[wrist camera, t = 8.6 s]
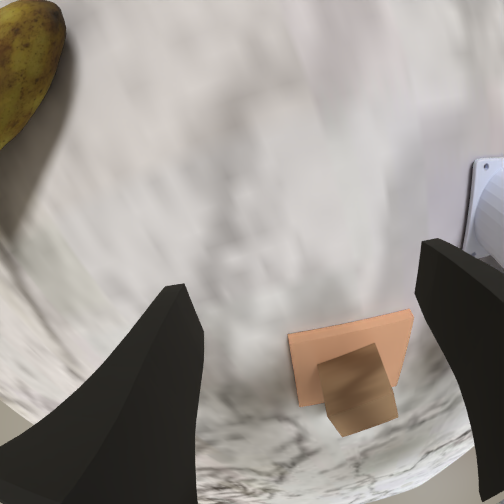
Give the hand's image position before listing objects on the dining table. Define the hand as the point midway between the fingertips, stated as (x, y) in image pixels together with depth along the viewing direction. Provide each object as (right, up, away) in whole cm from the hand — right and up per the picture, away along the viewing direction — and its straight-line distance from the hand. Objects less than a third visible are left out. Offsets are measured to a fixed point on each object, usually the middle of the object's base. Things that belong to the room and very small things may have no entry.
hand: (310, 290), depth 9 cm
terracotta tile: (+7, -8, +17) cm, 20 cm away
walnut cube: (+7, -9, +16) cm, 19 cm away
